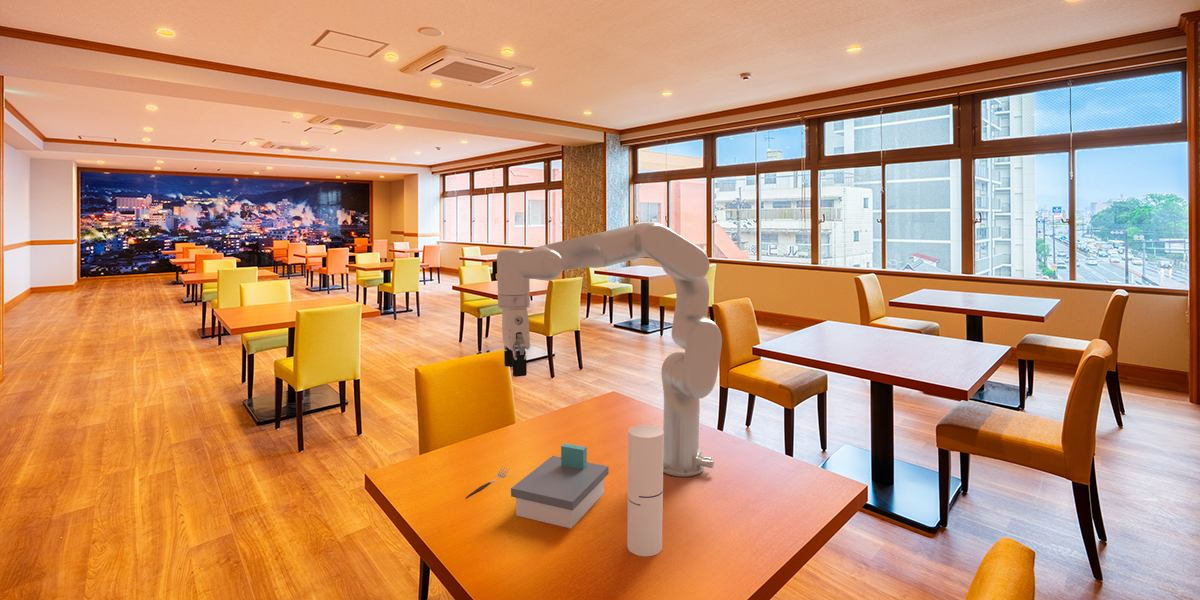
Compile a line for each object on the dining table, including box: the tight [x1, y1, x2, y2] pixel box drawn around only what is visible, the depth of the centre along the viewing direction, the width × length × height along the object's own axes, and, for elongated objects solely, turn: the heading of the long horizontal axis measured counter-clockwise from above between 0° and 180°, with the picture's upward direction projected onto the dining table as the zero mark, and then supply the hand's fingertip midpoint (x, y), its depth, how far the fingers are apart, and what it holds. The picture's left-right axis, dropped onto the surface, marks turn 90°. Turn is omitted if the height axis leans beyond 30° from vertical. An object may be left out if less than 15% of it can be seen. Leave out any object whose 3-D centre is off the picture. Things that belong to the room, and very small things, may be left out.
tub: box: [515, 478, 605, 530], centre depth 138 cm, size 14×18×6 cm
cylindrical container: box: [626, 424, 664, 557], centre depth 118 cm, size 7×7×25 cm
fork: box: [465, 466, 510, 499], centre depth 148 cm, size 3×16×2 cm, turn 152°
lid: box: [510, 442, 609, 511], centre depth 137 cm, size 16×20×7 cm
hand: (515, 370), depth 141 cm, fingers open, 9 cm apart
